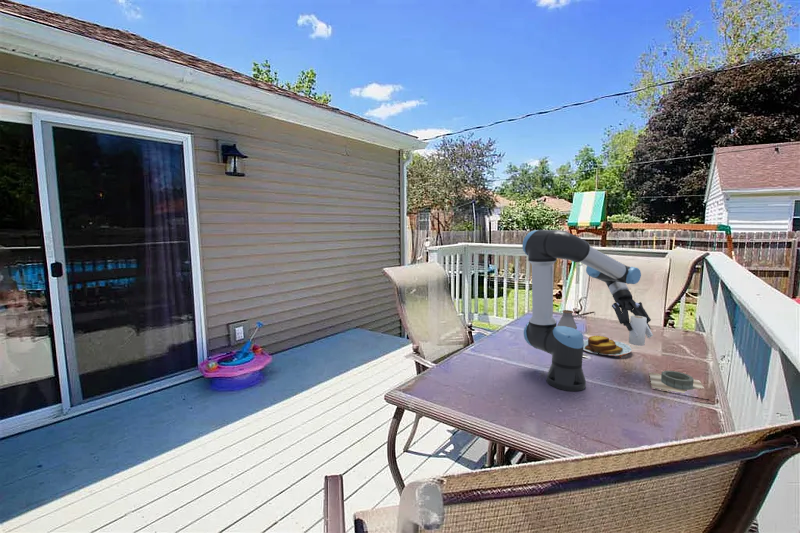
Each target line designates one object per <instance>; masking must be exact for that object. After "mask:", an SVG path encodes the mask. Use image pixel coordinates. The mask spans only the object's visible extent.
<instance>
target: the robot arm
mask: <svg viewBox="0 0 800 533" xmlns="http://www.w3.org/2000/svg"><path fill="white" fill-rule="evenodd" d="M521 246H522V251H523V252H524V254H525V255H526V256H527V257H528V258H527V262H529V263H530V265H531V290H532V291H531V294H532V295H531V300H532V301H531V305H532V306H531V307H532V308H531V310H532V311H531V312H532V314H531V315H532V316H531V317H530V318H529V320H528V322H527V323H526V324H525V327H524V328H523V337H524V340H525V342H526V343H527V344H528V345H529V346H531V347H533V348H534V349H537V350H540V351H542V352H545V353H547V354H550V355H551V365H550V367H549V369H548V372H547V374H546V383H547V384H548V385H550V386H551V387H553V388H556V389H557V390H562V391H567V392H568V391H569V392H579V391H583V390H585V389H586V386H587V381H586V378H585V374H584V371H583V358H584V357H583V355H584V350H583V346H584V342H583V340H584V335H583V333H582V332H581V331H580V330H578V329H574V328H571V327H566V326H557V325H558V323H557V319H555V318H554V310H553V309H554V296H553V295H554V288H553V287H554V285H553V284H554V283H553V282H554V277H553V276H554V271H553V267H554V266H553V265H554V264H555V263H556V262H557V260H558V259H559V260H560V259H562V260H568V261H571V262H573V263H580V264H581V263H582V264H583V265H586V269H585V272H586V275H588V276H589V277H590V278H593V279H596V280H598V281H601V282H604V283H605V284H606V287H607V288H608V290H609V292H610V294H611V296H612V298H613V300H614V302H613V304H612V305H611V307H612V308H613V310H614V311H615V315H616V317H617V320H618V322H619V324H621V325H622V324H623V326H624V327H626V329H627V331H630V332H631V334H632V336H633V338H636V337H638V336H639V335H638V333H637V331H636V329H635V327H634V325H633V324H632V322H630V315H629V312H630V313H631V314H633V316H643V317H646V318H647V322H646V334H645V336H646V337H647V339H651V337H653V336H654V334H653V332H652V331H651V326H650V325H649V323H650V322H651V318H650V316H649V314H648V313H647V311H646V309H645V308H644V306H643V302H641V301H639V302H636V301H635V300H634V299H633V294H632V293H631V291H630V290H629V287H628V286H627V285H629V284H631V285H636V284H638V283H639V282H640V280H641V276H642V272H641V270H640V268H639V267H635V266H628V265H625V264H624V263H622V262H620V261H618V260H616V259H614V258H612V257H610V256H609V255H607V254H605V253H603V252H601V251H599V250H598V249H596V248H594V247H592V246H591V245H590V244H589V242H588V241H586V240H585V239H583V238H581V237H579V236H578V235H576V234H575V235H574V234H573V233H570V232H567V231H564V230H559V229H558V230H554V229H550V230H549V229H548V230H547V229H546V230H545V229H537V230H532V231H529V232H528V233H527V234H526V235H525V236H524V238H523V241H522V245H521Z"/></svg>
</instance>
